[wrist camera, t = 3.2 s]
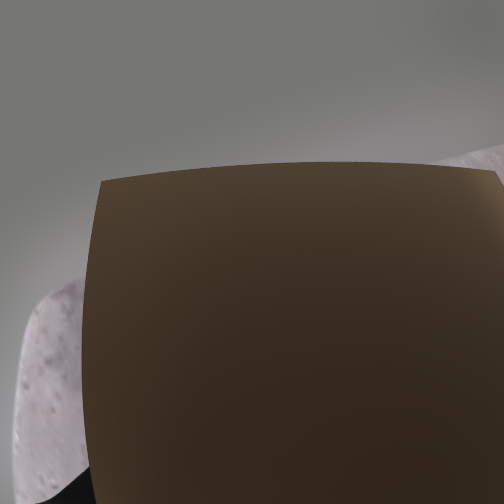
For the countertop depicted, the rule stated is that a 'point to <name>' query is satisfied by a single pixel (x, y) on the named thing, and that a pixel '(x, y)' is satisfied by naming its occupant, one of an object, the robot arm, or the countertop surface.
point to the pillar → (296, 336)
